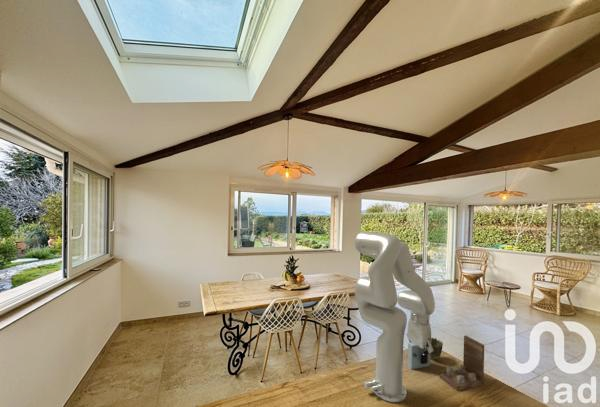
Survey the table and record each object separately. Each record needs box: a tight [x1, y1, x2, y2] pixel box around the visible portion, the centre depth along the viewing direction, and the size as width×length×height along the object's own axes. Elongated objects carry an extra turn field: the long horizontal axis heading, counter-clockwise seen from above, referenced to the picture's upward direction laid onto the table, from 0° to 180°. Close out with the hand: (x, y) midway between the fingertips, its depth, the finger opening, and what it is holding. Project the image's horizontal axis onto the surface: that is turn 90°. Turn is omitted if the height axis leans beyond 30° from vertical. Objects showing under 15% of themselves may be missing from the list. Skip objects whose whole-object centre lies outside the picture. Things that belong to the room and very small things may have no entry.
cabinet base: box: [439, 335, 485, 391], centre depth 107 cm, size 14×8×16 cm, turn 108°
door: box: [407, 342, 431, 370], centre depth 116 cm, size 10×3×10 cm, turn 108°
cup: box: [430, 337, 444, 361], centre depth 123 cm, size 8×7×8 cm
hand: (418, 359), depth 116 cm, fingers open, 5 cm apart
